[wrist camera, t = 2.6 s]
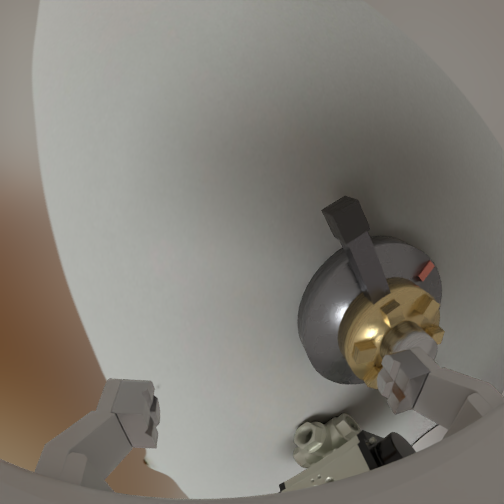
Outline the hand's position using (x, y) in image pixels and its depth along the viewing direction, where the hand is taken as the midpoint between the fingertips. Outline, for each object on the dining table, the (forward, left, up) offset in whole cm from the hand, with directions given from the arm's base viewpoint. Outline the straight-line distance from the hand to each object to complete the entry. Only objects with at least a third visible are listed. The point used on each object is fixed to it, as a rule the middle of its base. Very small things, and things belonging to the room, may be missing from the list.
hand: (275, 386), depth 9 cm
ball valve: (-26, +14, -17) cm, 34 cm away
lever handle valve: (-12, -4, -14) cm, 18 cm away
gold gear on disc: (-16, -3, -17) cm, 23 cm away
